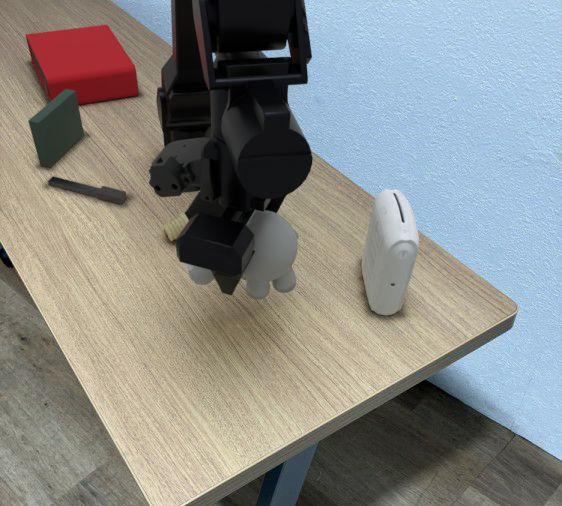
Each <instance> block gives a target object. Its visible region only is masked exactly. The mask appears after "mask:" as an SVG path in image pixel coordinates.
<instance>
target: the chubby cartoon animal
mask: <svg viewBox="0 0 562 506" xmlns="http://www.w3.org/2000/svg"><path fill="white" fill-rule="evenodd" d="M247 227H248V228H249V229H250V230H251V231H252V232H253V233H254V235H255V244H254V248H253V250H255V253H254V255H253V257H252V259H251V261H250V263H249V265H248V266H247V268H246V270H245V272H244V274H243V276H242V277H241V279H242V280H246V282H245V293H246V294H247V296H248V297H249V298H250V299H252V300H264V299H265V298H267V297H268V296H269V294H270V292H271V284H272V287H273V289H274V290H275V291H277V292H278V293H280V294H281V293H282V294H288V293H291V292H292V291H293V290H294V289H295V288H296V286H297V276H296V272H295V270H294V268H293V264H294V263H295V261H296V258H297V254H298V249H299V247H298V240H299V234H298V231H296V229H295V228H294V227H293V226H292V225H291V223H290V222H289V221H288V220H287V219H286V218H285V217H284V216H282V215H281V214H279V213H278V212H277V213H275V212H271V211H266V210H264V212H262V211H256V212H255V214H254V216H253V217H252V219H251V221H250V222H249V224H248V226H247ZM184 266H185V268H186V270H187V271H188V276H189V278H190V280H191V281H192V282H194V283H195V284H197V285H199V286H204V285H209V284H210V283H211V282H213V281H214V280H215V278H214V276H213V274H212V272H211V270H208V269H204V268H201V267H197V266H193V265H190V264H186V263H184ZM271 281H272V282H271ZM270 282H271V284H270Z"/></svg>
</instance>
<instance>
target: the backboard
mask: <svg viewBox="0 0 562 506" xmlns="http://www.w3.org/2000/svg"><path fill="white" fill-rule="evenodd" d="M27 122H28V125H29V129H30V132H31V136H32V140H33V144H34V148H35V151H36V155H37V159H38V162H39V166H40V167H44V168H48V169H51V168H52V167H53V166H54V165H55V164H56V163H57V162H58V161H59V160H60V159H61V158H62V157H63V156H64V155H65V154H67V152H69V150H70V149H71V148H73V147H74V146H75V145H76V144H77V143H78V141H80V140H81V139H82V138H83V137H84V136H85V132H84V127H83V122H82V116H81V112H80V107H79V105H78V101H77V96H76V91H74V90H69V89H65V90H64V91H63V92H61V93H60V94H59V95H58V96H57V97H56V98H54V99H53V100H52V101H51V102H50V101H49V102H48V103H47V104H46V105H45V106H43V108H41V109H40V110H39V111H38V112H37V113H35V114H34V115H33V116H32V117H31V118H29V119H28V121H27Z"/></svg>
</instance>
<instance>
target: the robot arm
mask: <svg viewBox="0 0 562 506" xmlns="http://www.w3.org/2000/svg"><path fill="white" fill-rule="evenodd" d="M170 13H171V14H170V16H171V47H172V49H171V50H172V54H171V56H170V57H169V58H168V59H167V61H166V62H165V63H164V64H163V66H162V67H161V69H160V80H161V81H160V82H161V84H160V85H161V86H158V87H157V89H156V98H155V101H156V109H157V110H156V111H157V116H158V121H159V125H160V127H161V133H162V136H163V137H162V138H163V148H162V150H161V151H160V152H159V153H158V155H157V156H156V157H155V158H154V159H153V160H152V162H151V165H150V168H149V169H148V173H149V177H150V178H149V180H148V184H149V186H150V187H151V188H152V189H153V192H154V193H155V194H156V195H157V196H159V197H160V198H173V197H180V196H181V195H182V194H185V193H196V192H197V193H198V192H200V195H201V199H202V200H206V201H210V202H213V201H214V200H219V204H221V205H222V206H224V207H226V209H225V211H224V212H223V214H222V216H221V217H220V218H219V217H215V216H211V215H208V214H204V213H200V212H199V213H198V214H196V215H195V216H193V217H192V218H190V220H189V221H188V223H187V224H186V226H185V227H184V229H183V230H182V231H181V233H180V234H179V236H178V237H177V238H176V239H174V240H175V252H176V257H177V259H178V261H179V263H183V264H185V263H186V264H190V265H193V266H197V267H201V268H204V269H208V270H211V272H212V274H213V276H214V278H215V279H214V280H215V283H216V284H217V285H218V288H219V290H220V291H221V294H224V295H227V296H232V295H233V294H234V292H235V290H236V288H238V287H237V286H238V285H239V283H240V281H241V279H242V278H241V277H242V276H243V274H244V272H245V270H246V268H247V266H248V265H249V263H250V261H251V259H252V257H253V255H254V253H255V250H253V248H254V244H255V235H254V233H253V232H252V231H251V230H250V229H249V228H248V227H247V226H248V224H249V222H250V221H251V219H252V217H253V216H254V214H255V212H256V211H262V212H264V210H266V211H271V212H275V213H277V214H278V212H279V210H280V209H281V206H282V204H283V203H284V201H285V199H286V197H287V196H288V195H290V194H292V193H294V192H295V191H296V190H297V189H298V188H300V187H301V186H302V185H303V183H305V181H306V180H307V178H308V177H309V174H310V172H311V170H312V166H313V158H314V157H313V153H312V150H311V146H310V144H309V142H308V140H307V138H306V136H305V134H304V133H303V130H302V128H301V126H300V124H299V123H298V120H297V118H296V116H295V115H294V113H293V111H292V109H291V107H290V104H289V97H288V95H289V86H301V85H308V83H309V75H308V64H309V63H310V62H311V60H312V59H313V54H312V46H311V38H310V32H309V25H308V17H307V10H306V3H305V0H170ZM287 46H288V51H289V56H275V57H268V56H267V55H266V53H264V52H268V51H269V52H270V51H282V50H285V48H286V47H287ZM213 54H214V56H215V58H214V57H213Z"/></svg>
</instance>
